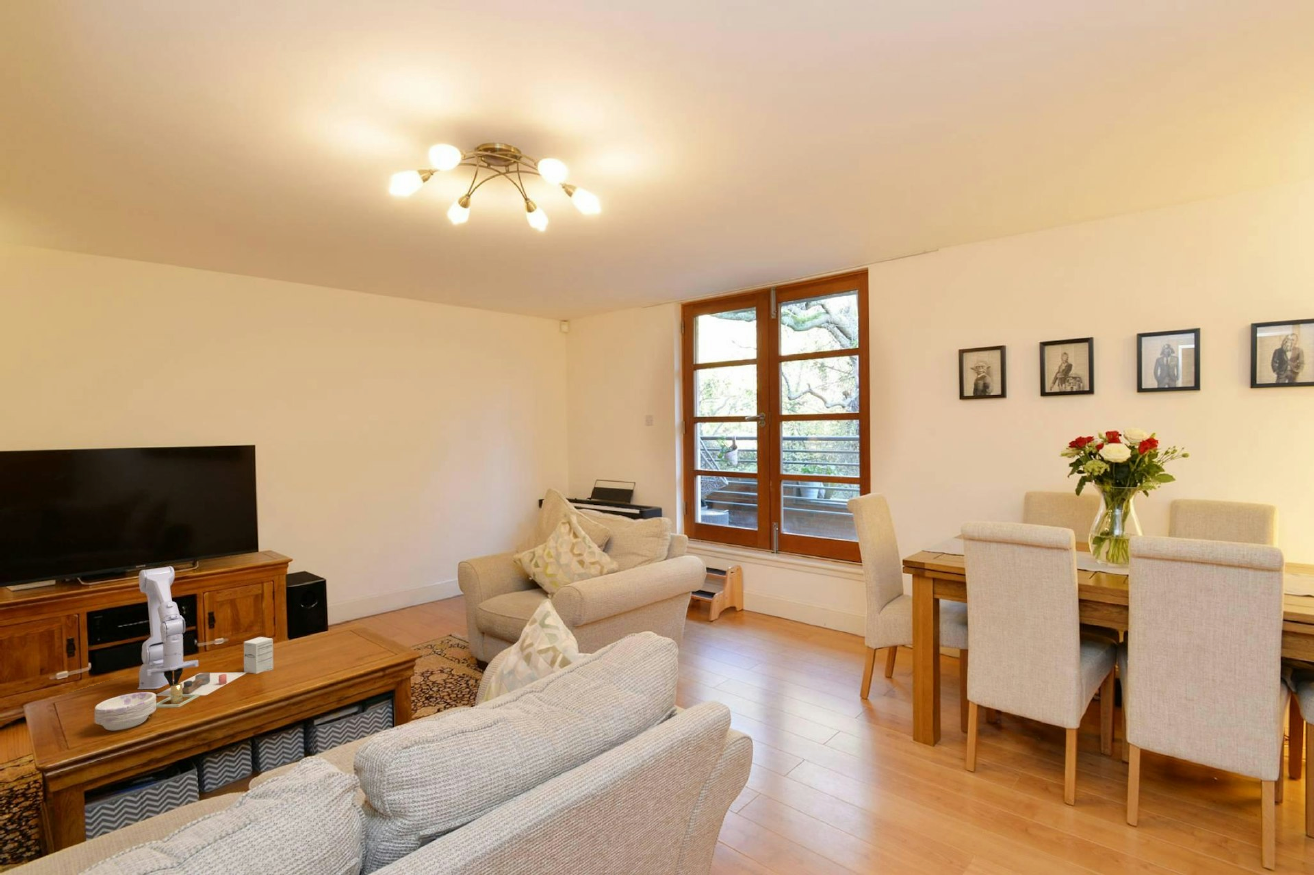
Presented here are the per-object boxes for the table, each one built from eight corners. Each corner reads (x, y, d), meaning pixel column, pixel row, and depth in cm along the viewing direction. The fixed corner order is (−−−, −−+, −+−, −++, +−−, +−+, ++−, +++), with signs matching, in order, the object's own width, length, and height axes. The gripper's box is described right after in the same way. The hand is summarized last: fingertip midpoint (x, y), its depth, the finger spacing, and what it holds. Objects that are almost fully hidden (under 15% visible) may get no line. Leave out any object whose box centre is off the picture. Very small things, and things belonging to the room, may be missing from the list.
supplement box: (243, 673, 245) (242, 641, 245) (261, 667, 252) (260, 636, 252) (256, 676, 242) (255, 643, 242) (274, 669, 249) (273, 638, 249)
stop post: (217, 685, 231) (217, 676, 231) (221, 682, 234) (221, 674, 234) (223, 685, 231) (223, 676, 231) (228, 682, 234) (228, 674, 234)
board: (153, 698, 222) (153, 695, 222) (199, 675, 244) (199, 673, 244) (206, 697, 222) (206, 695, 222) (247, 674, 244) (247, 672, 244)
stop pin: (168, 704, 215) (168, 687, 215) (175, 701, 218) (174, 683, 218) (178, 704, 215) (177, 686, 215) (184, 700, 218) (184, 683, 218)
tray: (152, 710, 212) (152, 705, 212) (173, 698, 221) (173, 694, 221) (178, 709, 212) (178, 705, 212) (199, 698, 221) (199, 694, 221)
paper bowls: (154, 710, 212) (154, 687, 212) (158, 724, 201) (158, 699, 201) (94, 724, 201) (93, 700, 202) (95, 740, 190) (94, 714, 190)
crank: (199, 681, 235) (199, 670, 235) (212, 680, 236) (212, 669, 236) (178, 694, 222) (178, 684, 222) (192, 693, 223) (192, 683, 223)
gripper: (147, 660, 217) (147, 699, 216) (198, 651, 226) (199, 688, 226) (147, 655, 222) (147, 693, 222) (197, 646, 231) (198, 683, 231)
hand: (173, 690), depth 224 cm, fingers closed
